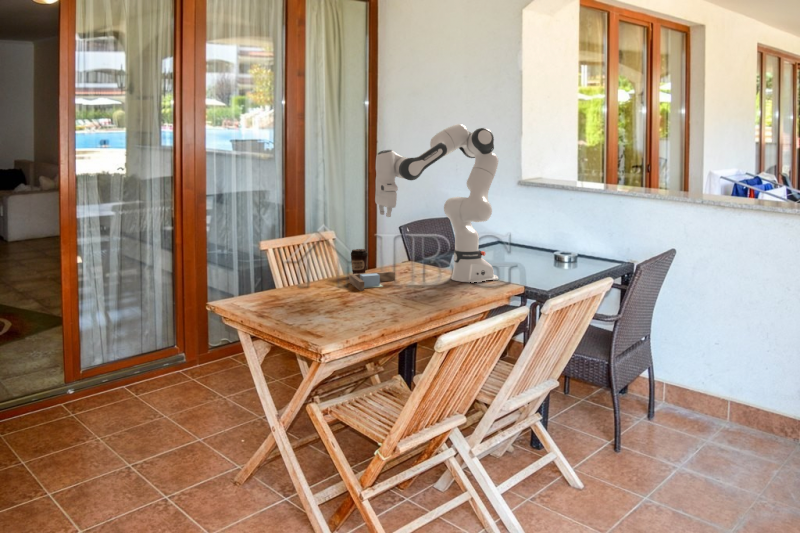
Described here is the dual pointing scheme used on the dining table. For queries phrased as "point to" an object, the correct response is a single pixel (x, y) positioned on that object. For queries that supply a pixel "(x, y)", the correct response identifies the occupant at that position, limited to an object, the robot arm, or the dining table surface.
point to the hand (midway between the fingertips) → (385, 215)
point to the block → (370, 279)
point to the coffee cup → (359, 260)
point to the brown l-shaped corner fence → (384, 276)
